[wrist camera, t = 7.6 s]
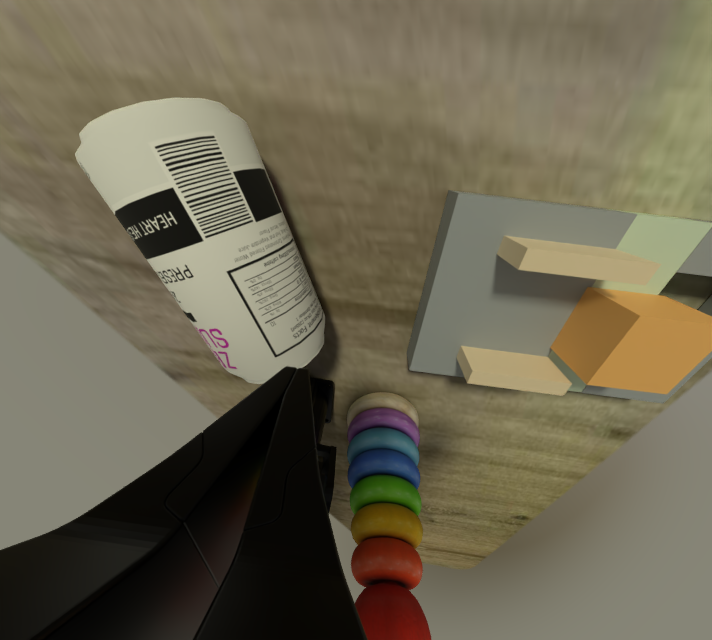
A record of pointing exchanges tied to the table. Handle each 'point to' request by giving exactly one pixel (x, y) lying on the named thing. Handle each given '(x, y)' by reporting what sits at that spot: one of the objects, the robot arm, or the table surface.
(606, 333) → the block
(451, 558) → the table surface
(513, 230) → the tunnel board
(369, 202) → the table surface
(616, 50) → the table surface
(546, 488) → the table surface
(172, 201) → the supplement can
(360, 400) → the stacking toy
